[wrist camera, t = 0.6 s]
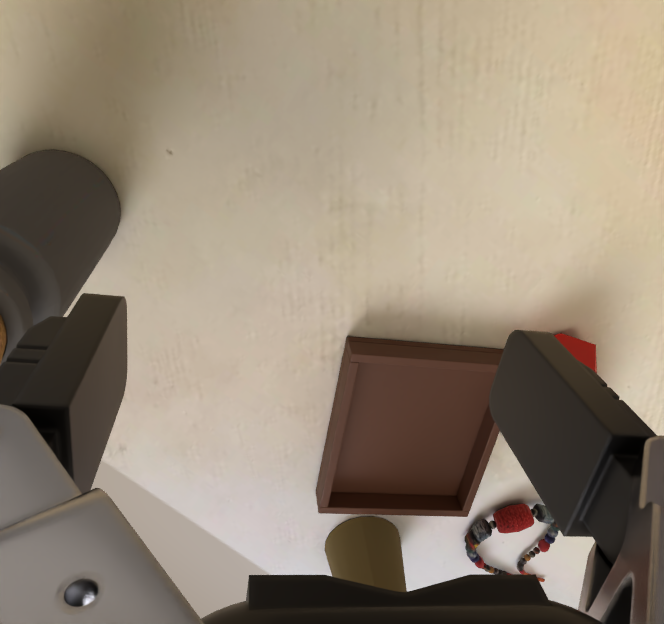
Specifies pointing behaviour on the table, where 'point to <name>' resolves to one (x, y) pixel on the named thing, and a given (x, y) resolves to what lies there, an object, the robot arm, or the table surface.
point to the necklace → (509, 522)
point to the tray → (408, 429)
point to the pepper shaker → (367, 553)
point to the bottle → (49, 237)
